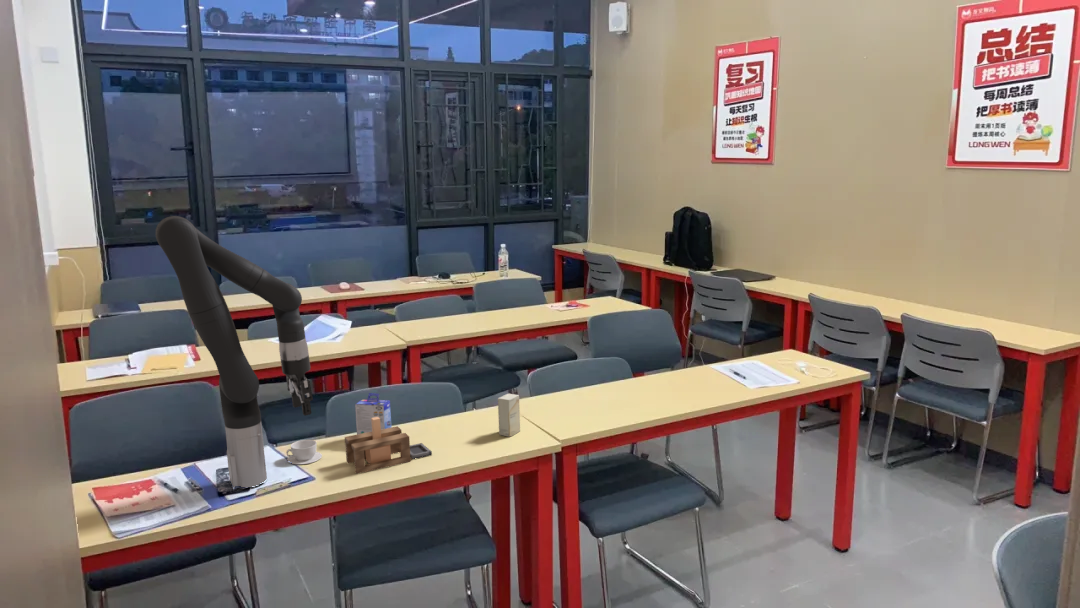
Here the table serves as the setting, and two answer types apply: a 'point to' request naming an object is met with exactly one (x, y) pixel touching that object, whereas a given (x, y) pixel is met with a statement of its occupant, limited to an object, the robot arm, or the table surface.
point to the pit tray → (419, 451)
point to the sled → (378, 452)
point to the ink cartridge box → (372, 413)
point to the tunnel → (365, 441)
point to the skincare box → (509, 414)
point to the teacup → (303, 452)
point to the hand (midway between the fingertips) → (302, 410)
